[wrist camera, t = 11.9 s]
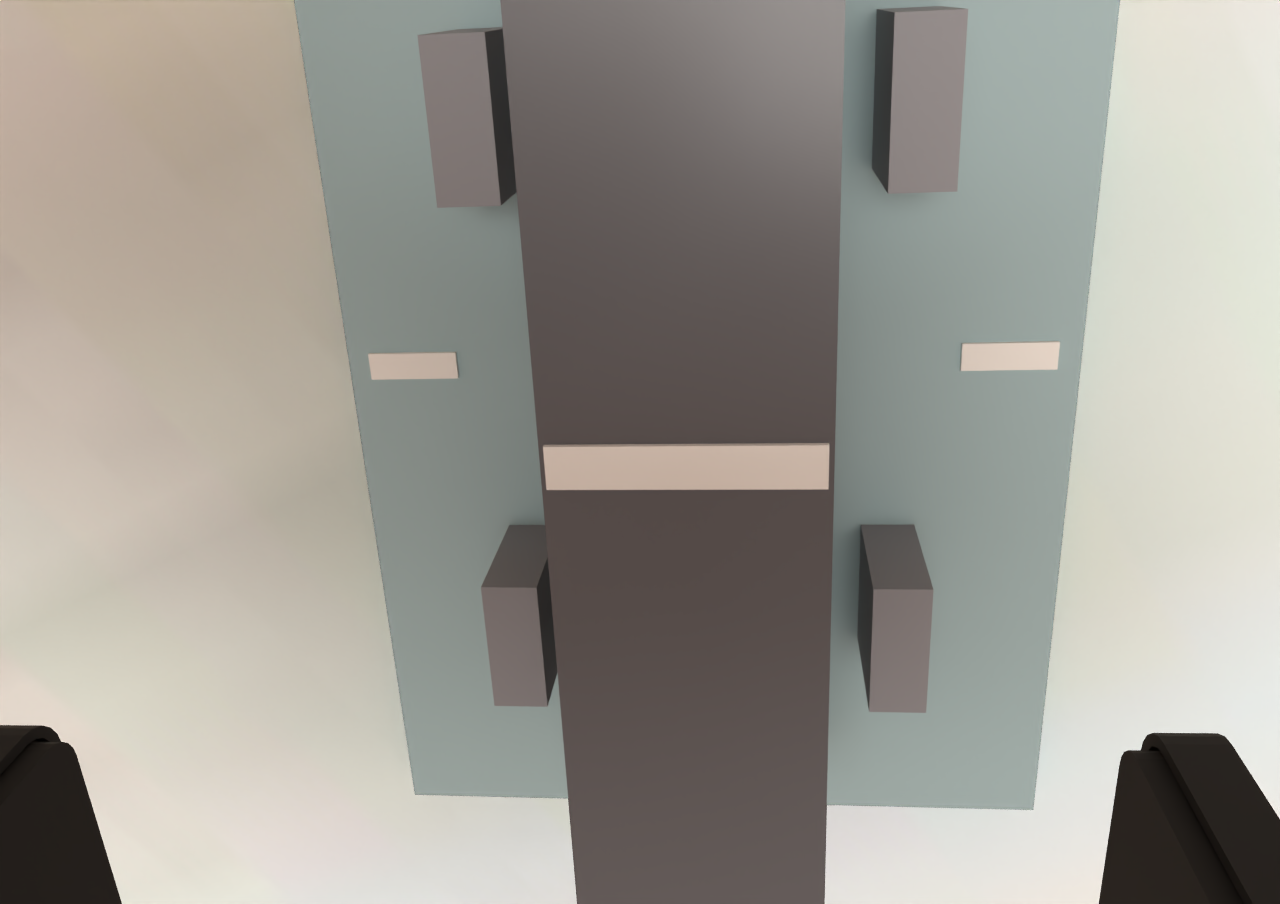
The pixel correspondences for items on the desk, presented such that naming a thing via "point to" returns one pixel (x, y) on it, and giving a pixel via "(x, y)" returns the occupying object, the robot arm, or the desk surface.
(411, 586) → the base
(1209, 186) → the desk surface
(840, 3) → the dark gray block
